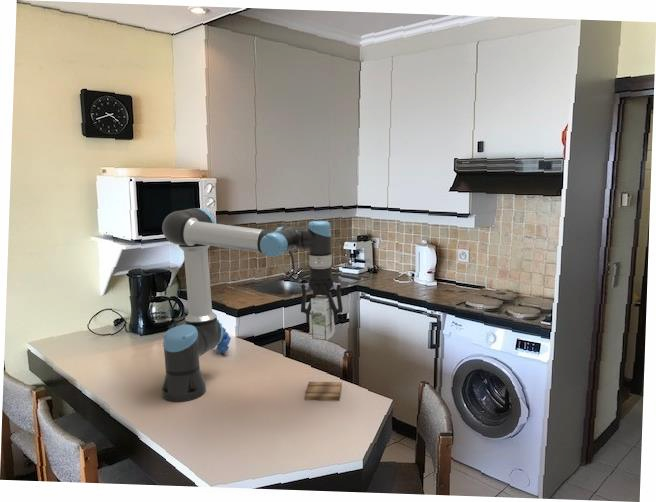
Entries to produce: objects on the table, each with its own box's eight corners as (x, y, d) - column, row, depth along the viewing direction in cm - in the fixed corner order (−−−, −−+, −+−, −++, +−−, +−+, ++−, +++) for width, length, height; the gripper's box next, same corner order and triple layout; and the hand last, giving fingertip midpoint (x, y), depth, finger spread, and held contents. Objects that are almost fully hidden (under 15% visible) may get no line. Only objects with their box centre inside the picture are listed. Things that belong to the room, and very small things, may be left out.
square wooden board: (304, 400, 179) (304, 395, 179) (309, 385, 191) (308, 381, 191) (339, 400, 178) (339, 396, 178) (341, 386, 190) (341, 381, 190)
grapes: (237, 354, 224) (236, 327, 222) (223, 358, 220) (221, 331, 218) (225, 347, 233) (224, 321, 231) (211, 351, 229) (210, 324, 227)
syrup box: (333, 335, 183) (332, 295, 180) (326, 341, 177) (325, 299, 175) (318, 334, 185) (317, 294, 183) (311, 339, 180) (310, 298, 177)
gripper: (289, 269, 174) (292, 335, 178) (349, 268, 173) (350, 335, 176) (293, 264, 182) (295, 328, 185) (350, 264, 180) (351, 328, 184)
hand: (322, 331), depth 181 cm, fingers closed on syrup box, 7 cm apart
